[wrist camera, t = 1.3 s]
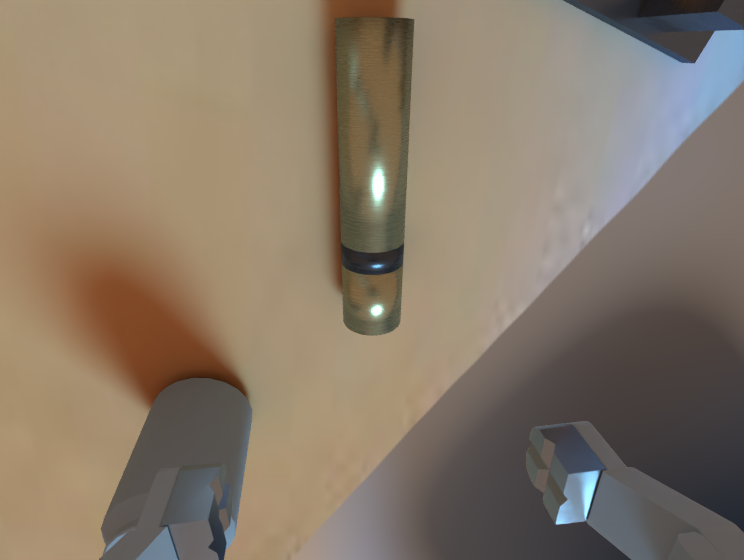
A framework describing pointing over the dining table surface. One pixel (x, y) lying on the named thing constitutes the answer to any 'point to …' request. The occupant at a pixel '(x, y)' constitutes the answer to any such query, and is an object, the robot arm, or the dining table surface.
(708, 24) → the stand
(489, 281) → the dining table surface
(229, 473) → the can
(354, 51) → the tube
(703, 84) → the dining table surface
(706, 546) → the robot arm
